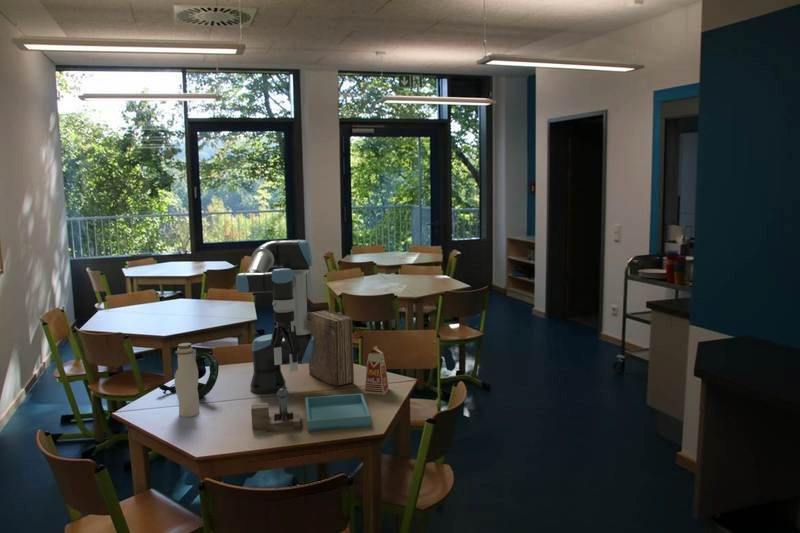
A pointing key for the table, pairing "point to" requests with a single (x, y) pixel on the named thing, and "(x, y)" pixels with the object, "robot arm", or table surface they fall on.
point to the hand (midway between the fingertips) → (286, 367)
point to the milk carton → (376, 373)
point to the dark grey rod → (283, 403)
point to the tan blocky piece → (273, 419)
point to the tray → (337, 412)
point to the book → (331, 347)
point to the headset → (201, 375)
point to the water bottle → (187, 381)
